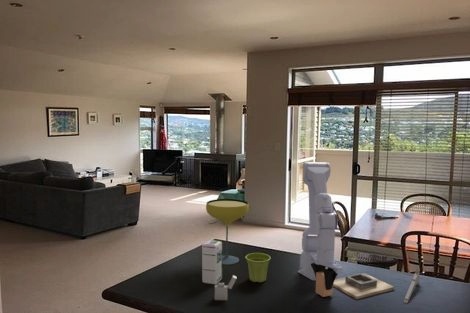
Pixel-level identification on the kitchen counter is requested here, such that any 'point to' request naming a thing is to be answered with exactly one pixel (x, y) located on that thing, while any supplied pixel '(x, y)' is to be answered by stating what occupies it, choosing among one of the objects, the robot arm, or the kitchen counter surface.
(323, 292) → the orange wooden block
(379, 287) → the dock
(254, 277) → the plant pot
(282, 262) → the kitchen counter surface
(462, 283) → the kitchen counter surface
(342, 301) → the kitchen counter surface
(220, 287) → the lighter
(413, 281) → the caliper
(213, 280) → the syrup box
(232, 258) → the cocktail glass
